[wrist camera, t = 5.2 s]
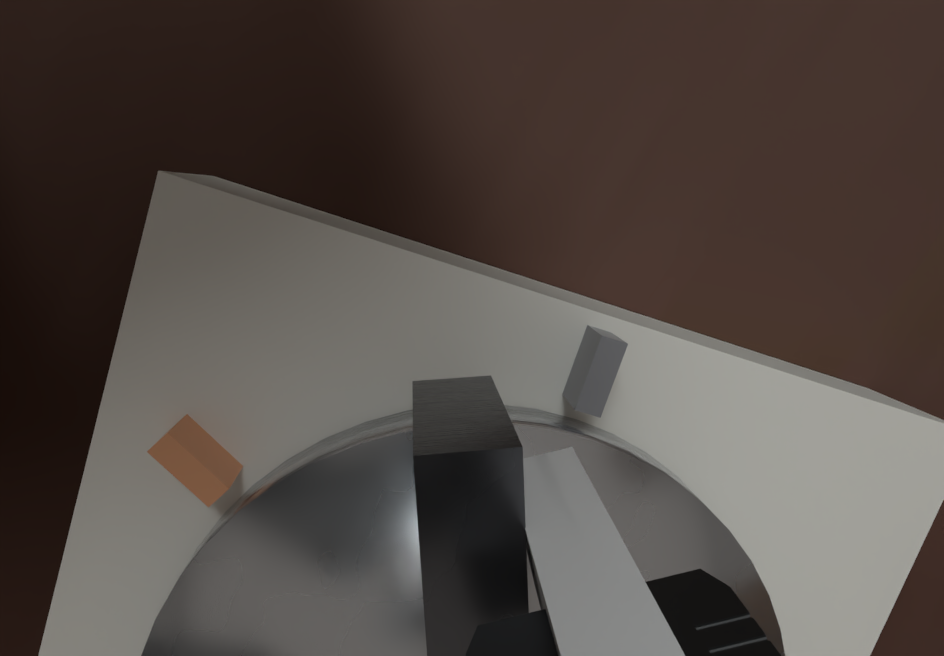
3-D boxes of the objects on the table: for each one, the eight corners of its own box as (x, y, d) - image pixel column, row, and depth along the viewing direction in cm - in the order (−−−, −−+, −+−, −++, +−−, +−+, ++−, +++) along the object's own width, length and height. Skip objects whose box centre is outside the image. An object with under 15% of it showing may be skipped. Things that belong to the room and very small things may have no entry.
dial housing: (50, 803, 21) (-66, 999, 16) (214, 176, 18) (134, 167, 13) (637, 912, 24) (699, 1107, 19) (867, 388, 21) (1017, 451, 16)
